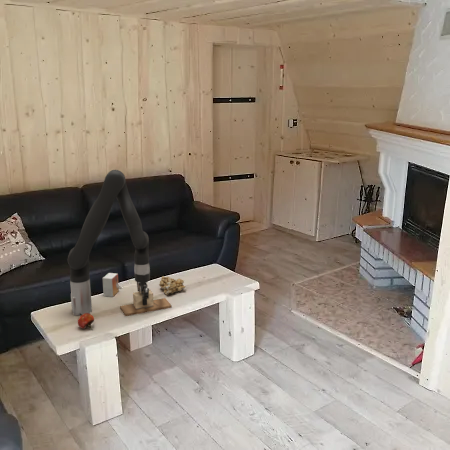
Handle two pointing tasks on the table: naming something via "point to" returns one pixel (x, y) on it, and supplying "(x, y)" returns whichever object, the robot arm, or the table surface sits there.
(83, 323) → the pomegranate
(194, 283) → the table surface
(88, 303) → the robot arm
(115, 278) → the small box
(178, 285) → the mineral formation
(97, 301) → the table surface
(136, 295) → the sanding block
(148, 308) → the board
